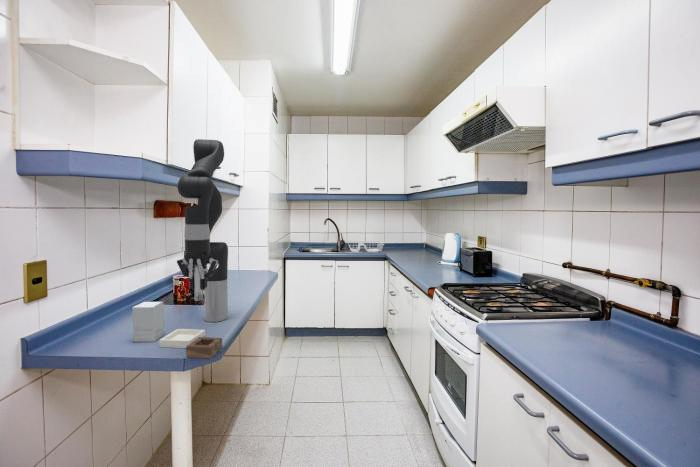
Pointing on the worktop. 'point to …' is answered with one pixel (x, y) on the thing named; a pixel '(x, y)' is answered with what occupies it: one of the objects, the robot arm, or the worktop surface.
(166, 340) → the tray
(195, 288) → the cylinder
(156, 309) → the supplement box
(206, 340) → the bore block
